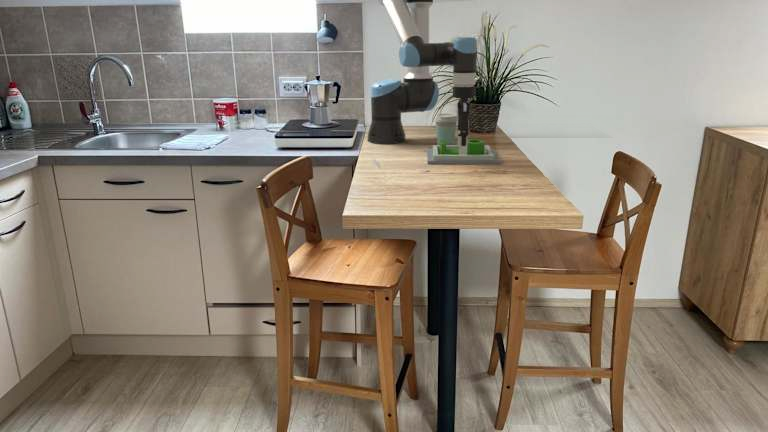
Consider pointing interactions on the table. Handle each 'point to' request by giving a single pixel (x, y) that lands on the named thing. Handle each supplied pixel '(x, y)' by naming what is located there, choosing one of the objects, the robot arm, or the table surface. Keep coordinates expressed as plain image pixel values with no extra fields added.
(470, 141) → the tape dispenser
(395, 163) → the table surface
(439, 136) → the coffee cup
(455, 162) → the slot board
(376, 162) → the butter knife
